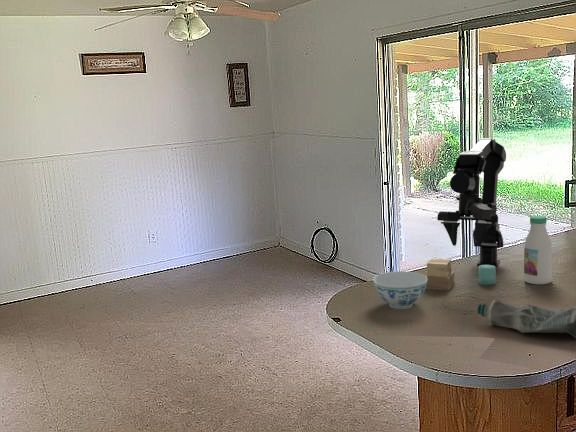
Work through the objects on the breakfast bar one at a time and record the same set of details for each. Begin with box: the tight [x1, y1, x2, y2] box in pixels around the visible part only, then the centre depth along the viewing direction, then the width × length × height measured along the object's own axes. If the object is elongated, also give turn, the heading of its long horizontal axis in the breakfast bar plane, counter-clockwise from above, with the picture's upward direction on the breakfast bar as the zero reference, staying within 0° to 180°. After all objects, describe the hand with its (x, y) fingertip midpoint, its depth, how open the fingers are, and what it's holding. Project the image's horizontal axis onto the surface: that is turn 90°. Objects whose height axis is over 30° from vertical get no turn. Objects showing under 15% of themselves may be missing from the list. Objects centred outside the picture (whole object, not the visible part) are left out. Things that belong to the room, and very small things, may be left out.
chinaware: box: [372, 270, 428, 310], centre depth 171 cm, size 15×15×8 cm
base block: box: [424, 271, 455, 292], centre depth 186 cm, size 8×8×4 cm
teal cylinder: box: [477, 265, 497, 286], centre depth 186 cm, size 5×5×5 cm
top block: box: [426, 257, 452, 277], centre depth 186 cm, size 6×6×4 cm
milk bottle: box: [523, 215, 553, 285], centre depth 183 cm, size 8×8×20 cm
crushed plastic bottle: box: [477, 299, 576, 339], centre depth 148 cm, size 13×7×25 cm
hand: (466, 245), depth 184 cm, fingers open, 9 cm apart
